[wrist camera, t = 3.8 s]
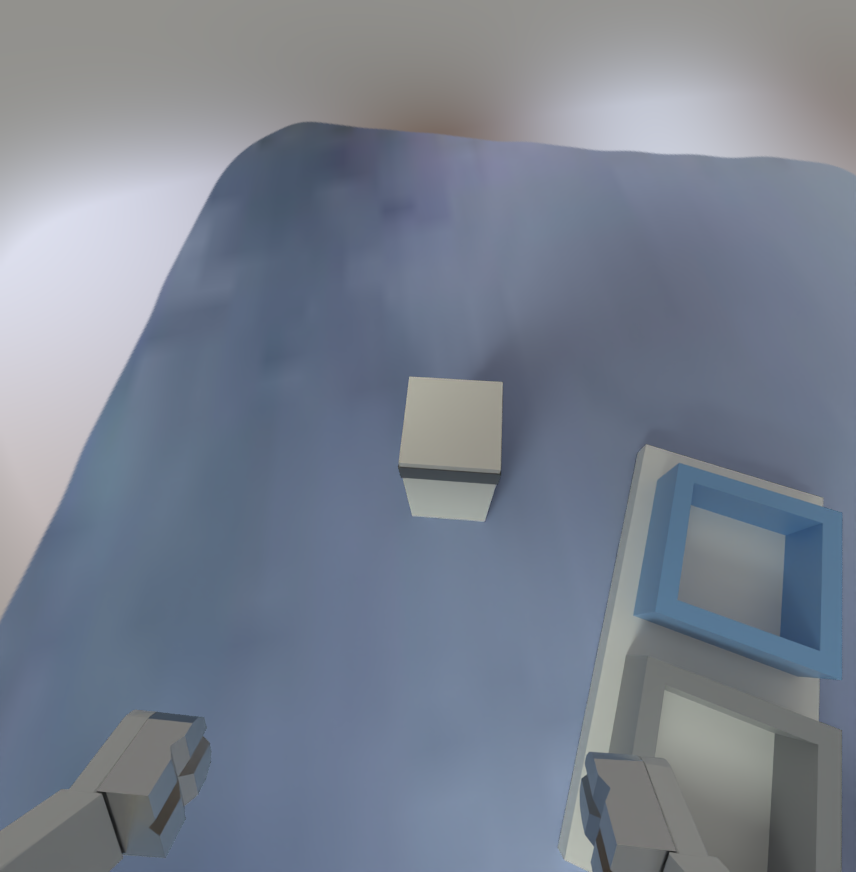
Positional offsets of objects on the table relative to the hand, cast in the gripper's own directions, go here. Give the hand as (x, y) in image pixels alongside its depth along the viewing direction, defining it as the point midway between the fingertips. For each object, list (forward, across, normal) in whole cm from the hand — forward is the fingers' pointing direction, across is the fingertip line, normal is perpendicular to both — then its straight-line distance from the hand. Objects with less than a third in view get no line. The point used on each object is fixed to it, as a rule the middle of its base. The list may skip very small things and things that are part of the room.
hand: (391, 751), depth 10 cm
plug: (+17, -1, +2) cm, 17 cm away
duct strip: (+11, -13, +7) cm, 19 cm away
